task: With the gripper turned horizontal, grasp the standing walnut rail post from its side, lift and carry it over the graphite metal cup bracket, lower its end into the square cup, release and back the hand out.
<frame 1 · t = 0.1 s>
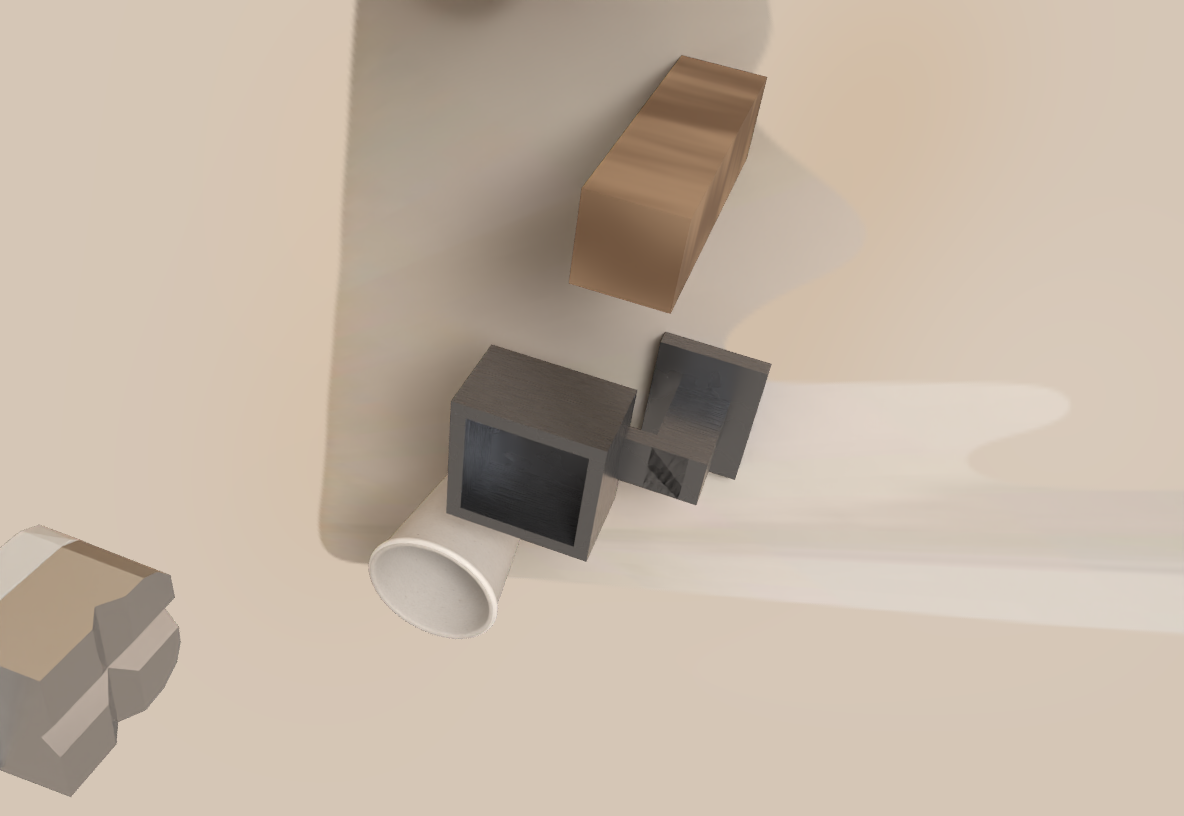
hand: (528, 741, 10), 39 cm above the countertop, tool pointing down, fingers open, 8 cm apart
cup bracket: (587, 366, 58), on the countertop
rail post: (714, 108, 46), on the countertop
dixie cup: (496, 481, 66), on the countertop
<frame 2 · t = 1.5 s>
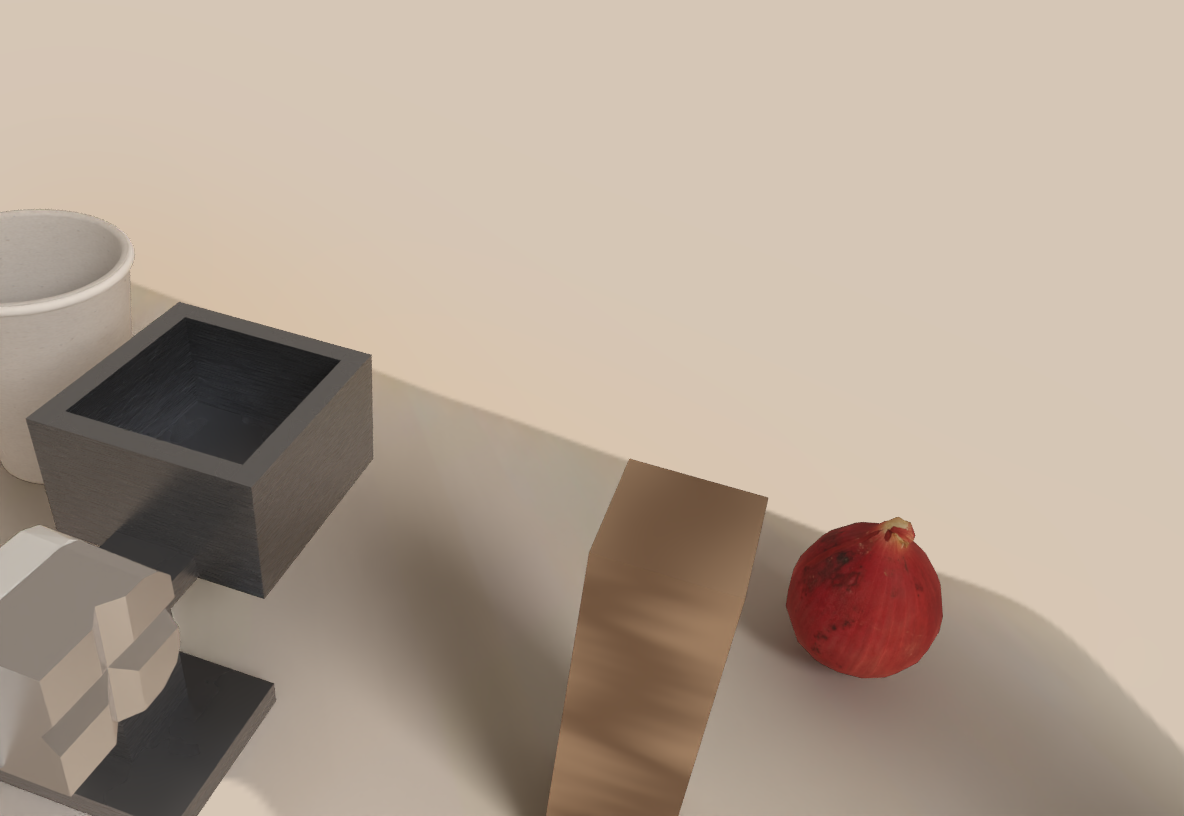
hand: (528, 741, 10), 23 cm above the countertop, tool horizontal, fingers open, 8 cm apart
cup bracket: (239, 593, 40), on the countertop
onion: (836, 664, 41), on the countertop
dixie cup: (70, 447, 46), on the countertop
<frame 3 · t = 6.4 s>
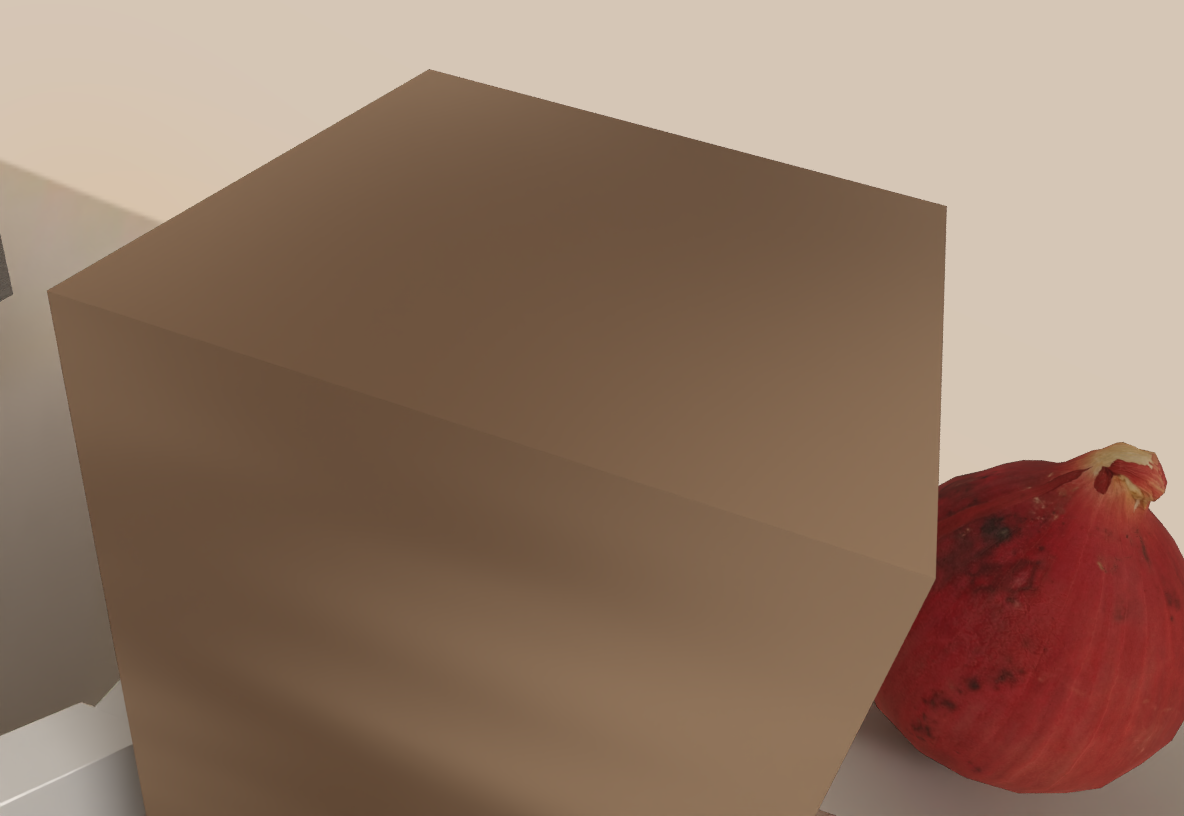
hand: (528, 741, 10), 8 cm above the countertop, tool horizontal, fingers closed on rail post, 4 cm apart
onion: (943, 751, 21), on the countertop
when the fingers open (15 cm above the countertop, at t = 12.0 s): rail post stays where it is, resting on cup bracket.
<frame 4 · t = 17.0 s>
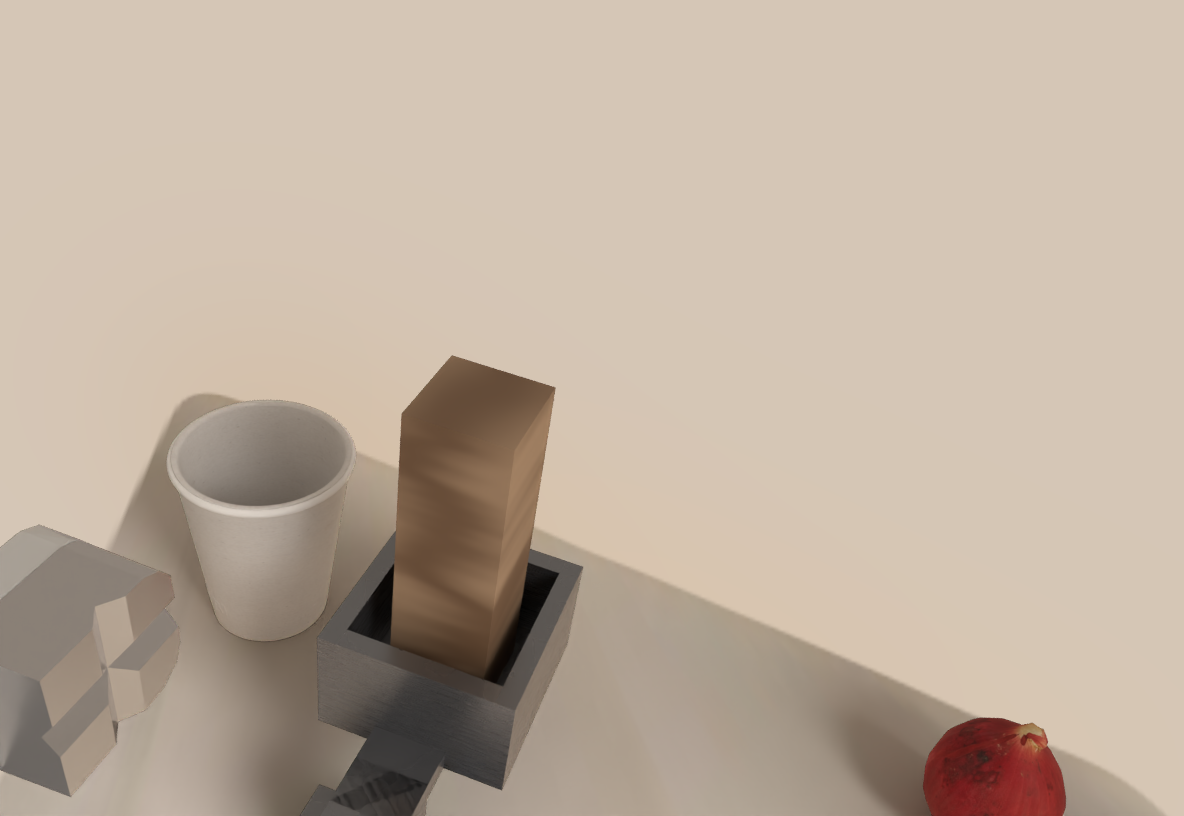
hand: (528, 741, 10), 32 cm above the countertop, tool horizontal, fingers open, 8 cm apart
cup bracket: (442, 756, 46), on the countertop
rail post: (453, 666, 42), point 6 cm above the countertop, touching cup bracket
dixie cup: (271, 601, 52), on the countertop
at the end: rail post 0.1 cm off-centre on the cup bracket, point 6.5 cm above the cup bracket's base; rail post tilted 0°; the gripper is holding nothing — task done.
